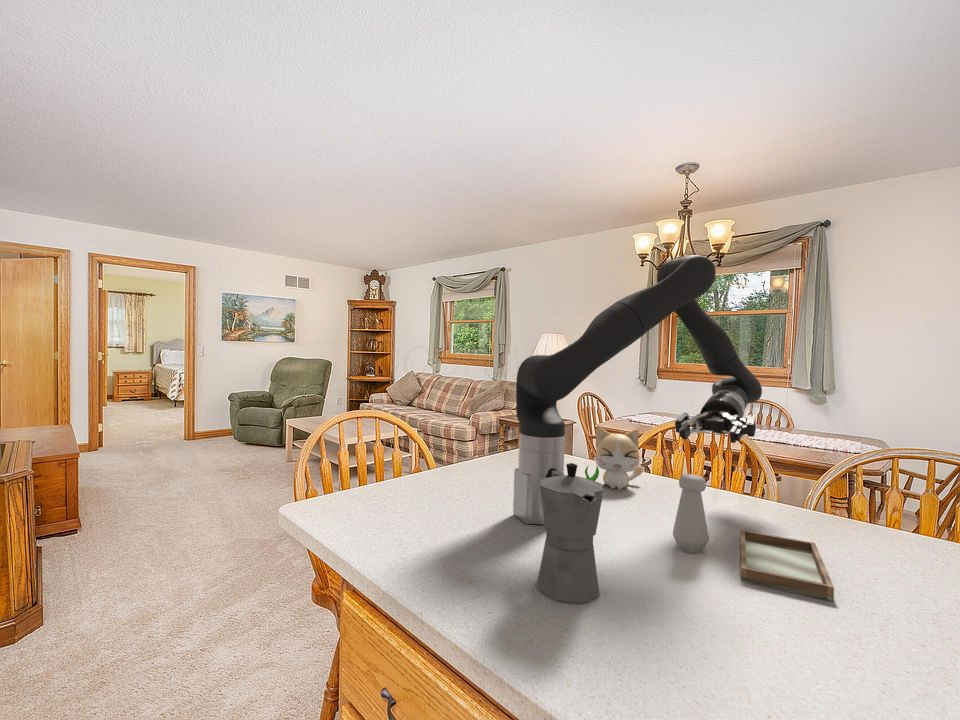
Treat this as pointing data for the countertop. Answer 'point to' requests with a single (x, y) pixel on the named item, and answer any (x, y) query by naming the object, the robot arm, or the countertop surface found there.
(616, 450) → the kitten
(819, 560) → the tray
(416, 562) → the countertop surface
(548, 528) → the coffeepot
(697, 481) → the salt shaker
